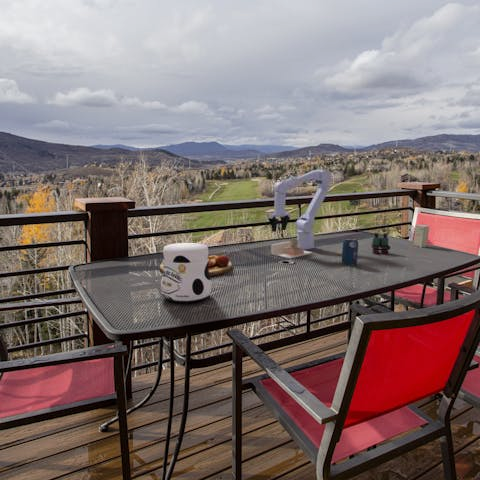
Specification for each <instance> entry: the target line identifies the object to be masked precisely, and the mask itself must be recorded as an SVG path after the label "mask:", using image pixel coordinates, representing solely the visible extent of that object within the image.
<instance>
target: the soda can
mask: <svg viewBox="0 0 480 480" xmlns="http://www.w3.org/2000/svg"><path fill="white" fill-rule="evenodd" d="M341 249H342V252H341V253H342V254H341V262H342V264H343V265H344V264H345V266H350V265H352V266H356V264H357V263H358V254H359V253H358V251H359V241H358V239H357V238H356V237H355V238H354V237H344V240H343V241H342V248H341Z"/></svg>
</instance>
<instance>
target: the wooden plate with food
mask: <svg viewBox="0 0 480 480" xmlns="http://www.w3.org/2000/svg"><path fill="white" fill-rule="evenodd" d="M208 258H209V275H210V277H212V276H216V275H217V276H218V275H222V274H225V273H227V272H229V271H231V269H232V268H233V264H232V262H231V261H230V258H229V257H228V256H227V255H225V254H222V255H221V254H219V255H215V254H213V255H209V257H208ZM159 270H160V272H162V273H163V262H161V263H160V265H159Z"/></svg>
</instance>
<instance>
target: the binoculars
mask: <svg viewBox="0 0 480 480" xmlns="http://www.w3.org/2000/svg"><path fill="white" fill-rule="evenodd" d="M389 245H390V244H389V237H388V232H385V233H383V234H382V236H379V233H377V232H374V236H373V237H372V241H371V249H372V250H371V251H372V254H373V255H377V256H378V255H380V252H381V254H382V255H383V254H384V255H383V256H386V255H388V254H389V250H391V246H389ZM389 255H390V254H389Z"/></svg>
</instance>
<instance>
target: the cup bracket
mask: <svg viewBox="0 0 480 480" xmlns="http://www.w3.org/2000/svg"><path fill="white" fill-rule="evenodd" d="M270 247H271V250H270V255H273V256H278V257H281V258H285V259H295V258H298V257H303V256H307V255H312V254H313V252H312V251H308V250H304V248H299V247H298V250H291V249H290V240H288V241H283V242H278V243H274V244H271V246H270Z"/></svg>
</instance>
